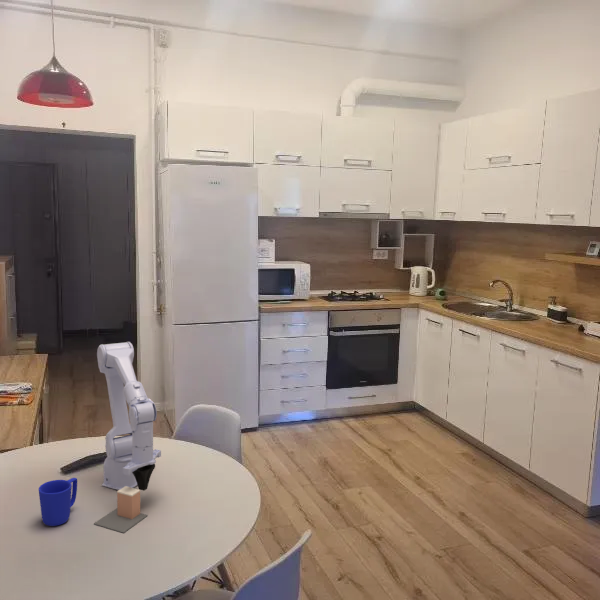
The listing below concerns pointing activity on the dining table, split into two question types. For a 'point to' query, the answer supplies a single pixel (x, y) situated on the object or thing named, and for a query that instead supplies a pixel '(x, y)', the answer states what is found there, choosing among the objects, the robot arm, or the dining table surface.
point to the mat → (119, 521)
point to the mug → (57, 500)
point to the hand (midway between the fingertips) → (142, 489)
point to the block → (128, 502)
